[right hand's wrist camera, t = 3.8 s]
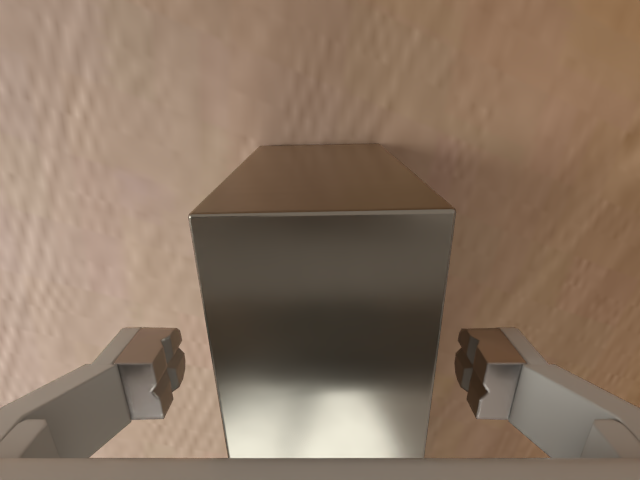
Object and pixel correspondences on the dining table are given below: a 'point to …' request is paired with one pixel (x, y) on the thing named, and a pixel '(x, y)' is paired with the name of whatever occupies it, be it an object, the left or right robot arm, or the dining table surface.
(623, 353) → the dining table surface
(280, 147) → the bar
